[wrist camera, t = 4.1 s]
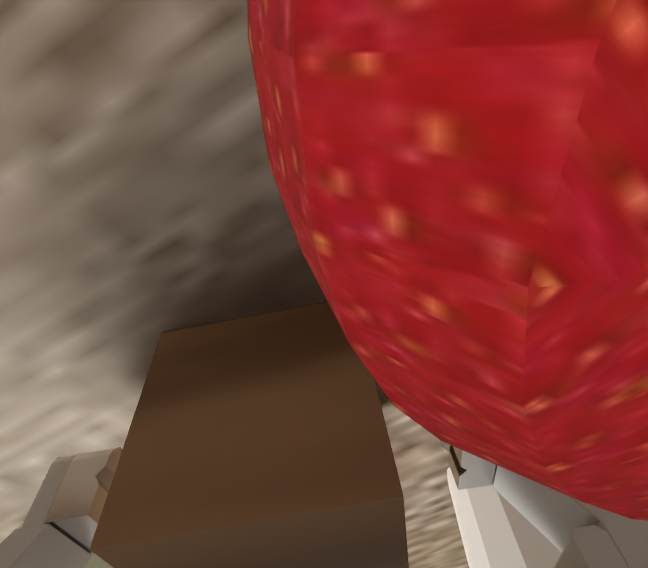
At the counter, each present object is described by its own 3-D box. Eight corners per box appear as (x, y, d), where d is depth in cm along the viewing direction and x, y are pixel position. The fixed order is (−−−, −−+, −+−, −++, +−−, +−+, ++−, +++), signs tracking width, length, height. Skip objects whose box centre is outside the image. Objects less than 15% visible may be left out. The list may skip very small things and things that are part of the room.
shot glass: (410, 449, 15) (490, 733, 9) (601, 386, 13) (832, 671, 8) (452, 517, 19) (527, 743, 13) (604, 473, 17) (758, 704, 12)
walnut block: (162, 330, 10) (89, 549, 6) (353, 295, 10) (402, 495, 6) (222, 437, 13) (199, 631, 9) (370, 411, 13) (410, 595, 9)
